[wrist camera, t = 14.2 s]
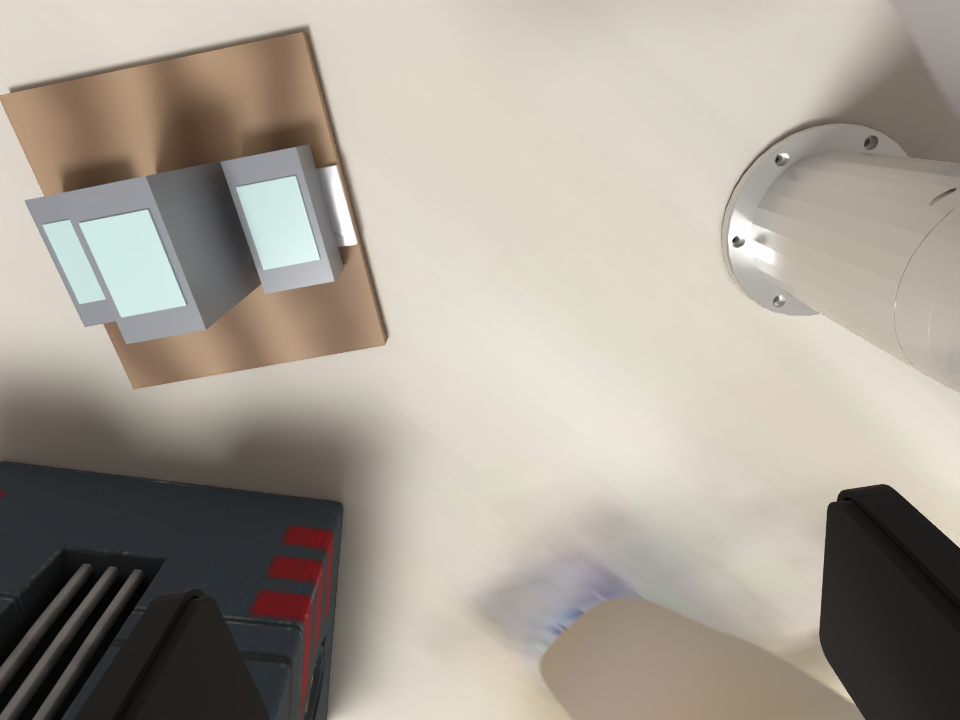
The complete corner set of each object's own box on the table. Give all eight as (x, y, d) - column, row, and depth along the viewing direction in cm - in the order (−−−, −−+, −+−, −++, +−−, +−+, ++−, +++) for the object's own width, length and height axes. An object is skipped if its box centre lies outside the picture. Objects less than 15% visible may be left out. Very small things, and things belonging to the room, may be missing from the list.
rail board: (306, 33, 35) (283, 23, 31) (387, 340, 43) (377, 365, 39) (10, 96, 36) (-52, 94, 32) (140, 383, 44) (105, 412, 40)
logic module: (220, 161, 36) (144, 176, 28) (261, 283, 40) (205, 330, 31) (151, 174, 37) (55, 194, 28) (198, 295, 40) (125, 345, 31)
